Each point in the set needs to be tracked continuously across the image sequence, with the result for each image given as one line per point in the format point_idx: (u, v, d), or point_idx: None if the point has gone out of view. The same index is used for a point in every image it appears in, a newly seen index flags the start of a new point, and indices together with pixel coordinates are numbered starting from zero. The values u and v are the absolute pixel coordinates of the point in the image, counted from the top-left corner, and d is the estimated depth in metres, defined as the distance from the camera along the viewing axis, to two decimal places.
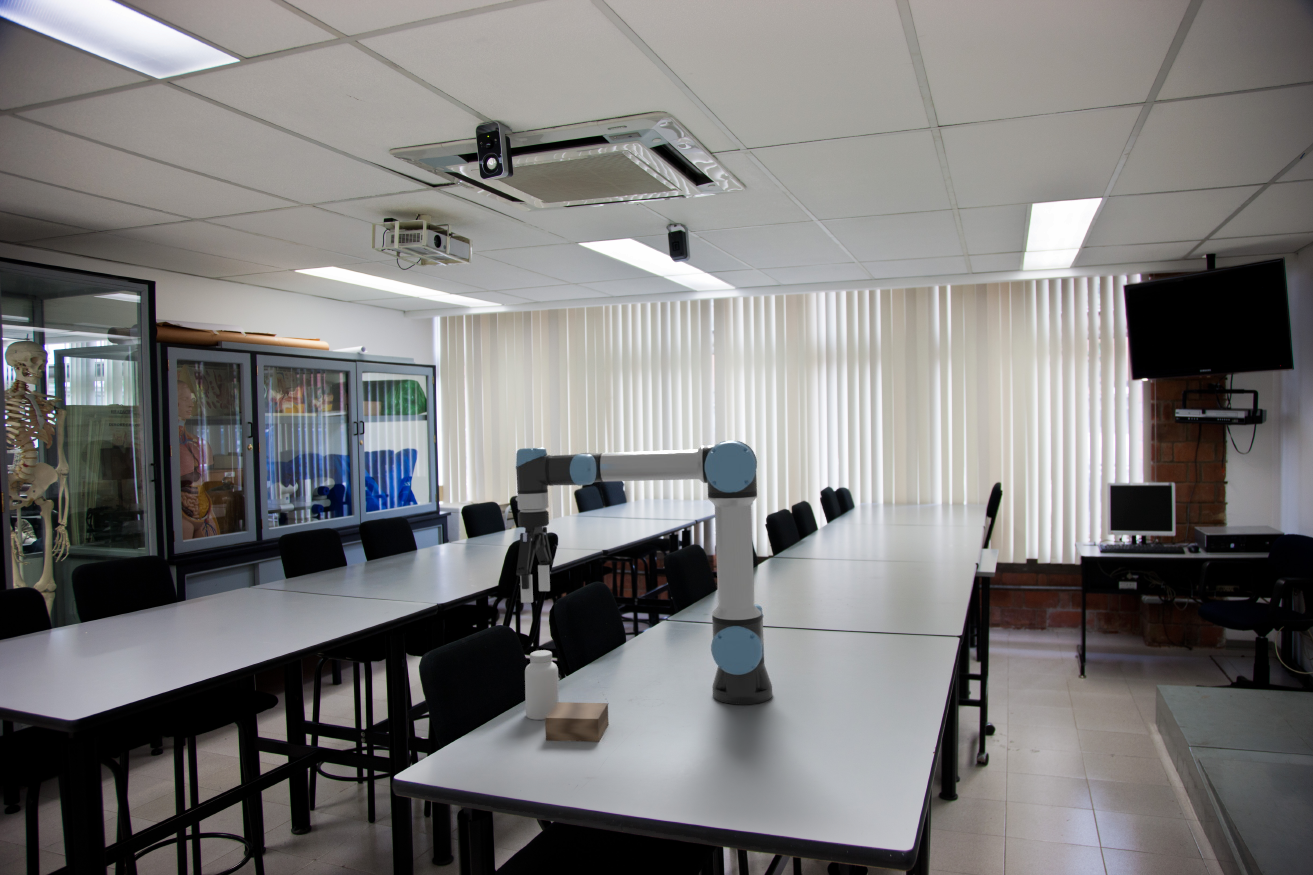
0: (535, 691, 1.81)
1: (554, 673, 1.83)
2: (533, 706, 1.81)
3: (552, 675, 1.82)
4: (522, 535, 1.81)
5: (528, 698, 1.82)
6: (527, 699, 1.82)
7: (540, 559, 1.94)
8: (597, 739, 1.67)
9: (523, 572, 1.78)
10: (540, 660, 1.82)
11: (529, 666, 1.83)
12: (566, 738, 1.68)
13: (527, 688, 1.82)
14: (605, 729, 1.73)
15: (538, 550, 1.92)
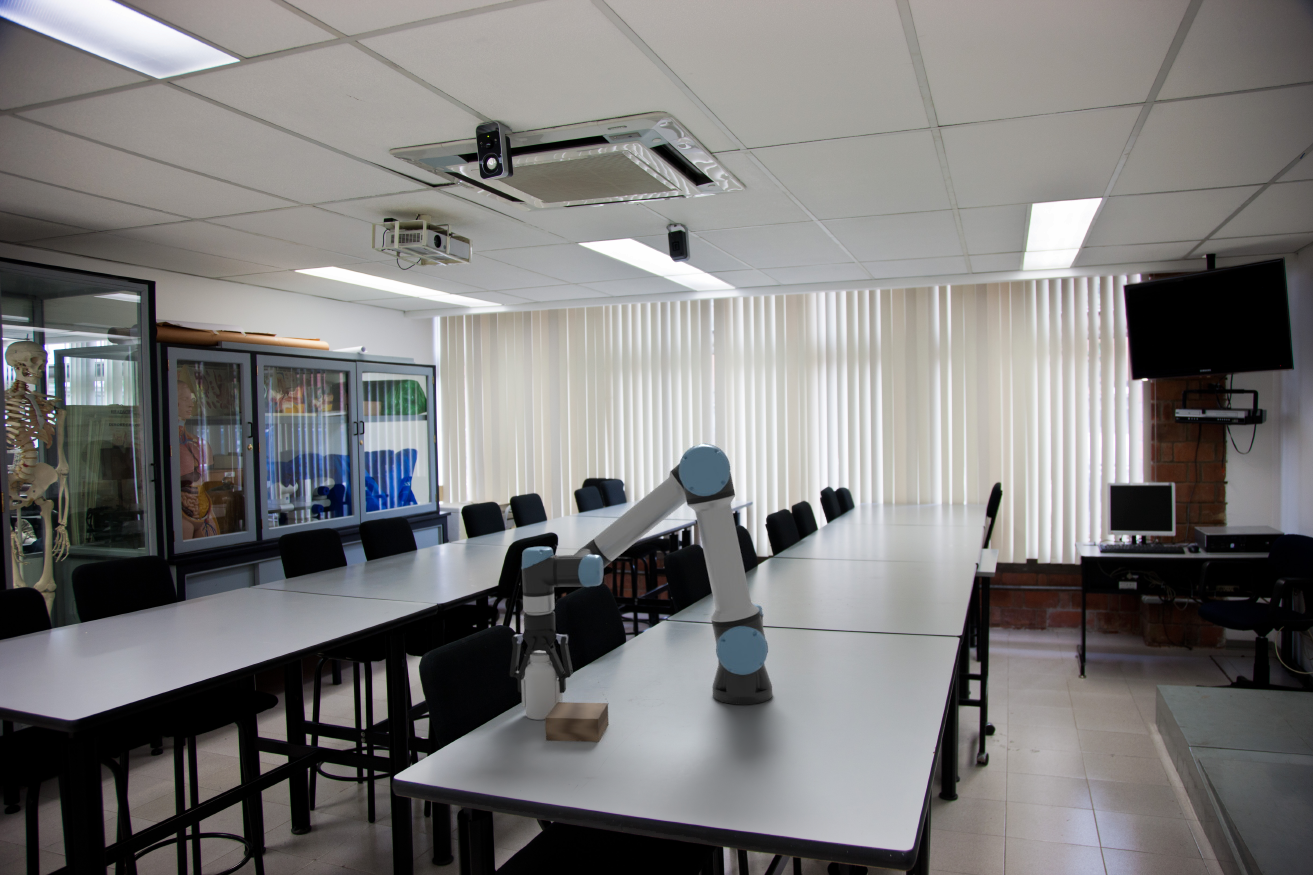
0: (535, 691, 1.81)
1: (554, 673, 1.83)
2: (533, 706, 1.81)
3: (552, 675, 1.82)
4: None
5: (528, 698, 1.82)
6: (527, 699, 1.82)
7: None
8: (597, 739, 1.67)
9: None
10: (540, 660, 1.82)
11: (529, 666, 1.83)
12: (566, 738, 1.68)
13: (527, 688, 1.82)
14: (605, 729, 1.73)
15: None
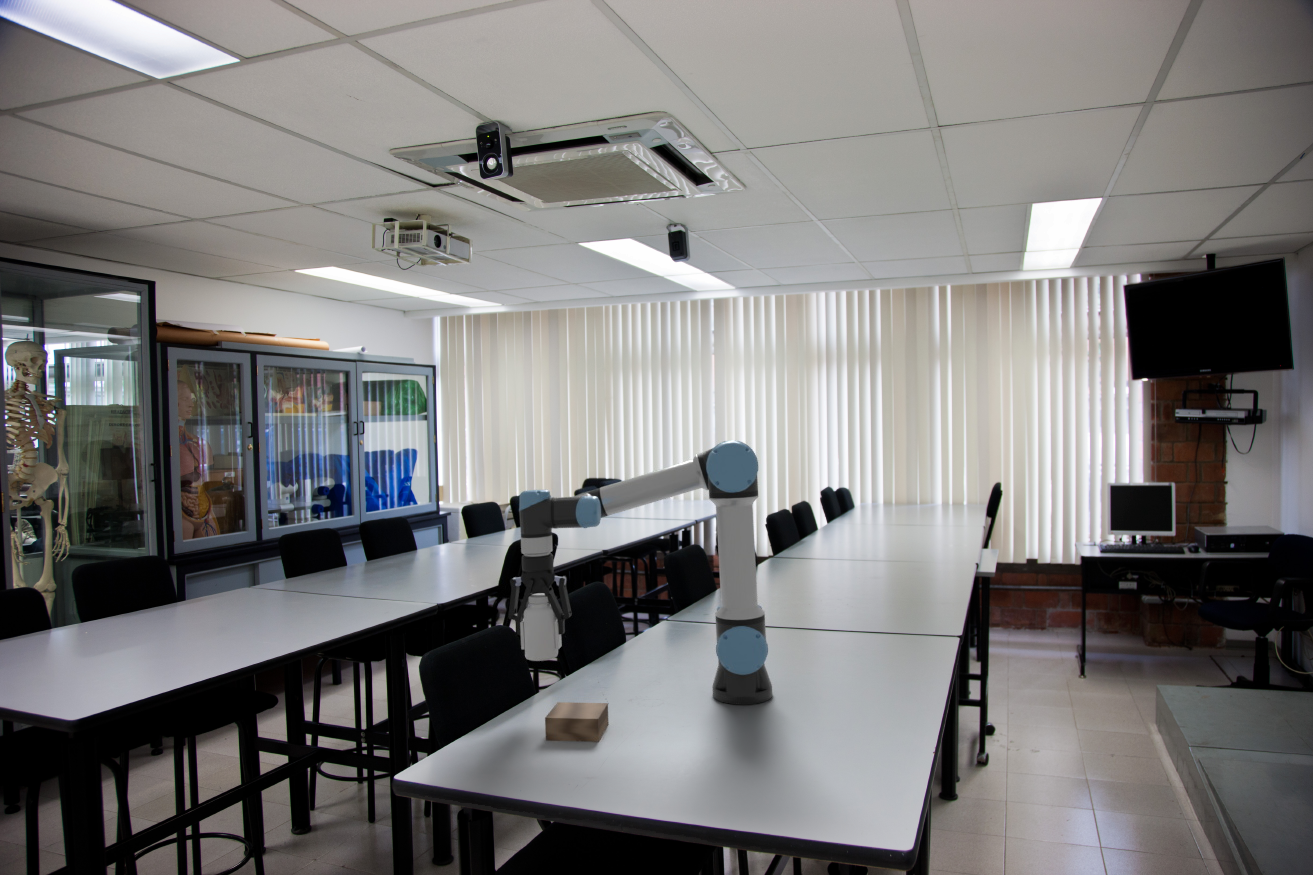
0: (534, 632, 1.81)
1: (553, 614, 1.83)
2: (532, 647, 1.81)
3: (551, 616, 1.82)
4: None
5: (527, 640, 1.82)
6: (526, 641, 1.82)
7: None
8: (597, 739, 1.67)
9: None
10: (538, 601, 1.82)
11: (528, 608, 1.83)
12: (566, 738, 1.68)
13: (526, 630, 1.82)
14: (605, 729, 1.73)
15: None
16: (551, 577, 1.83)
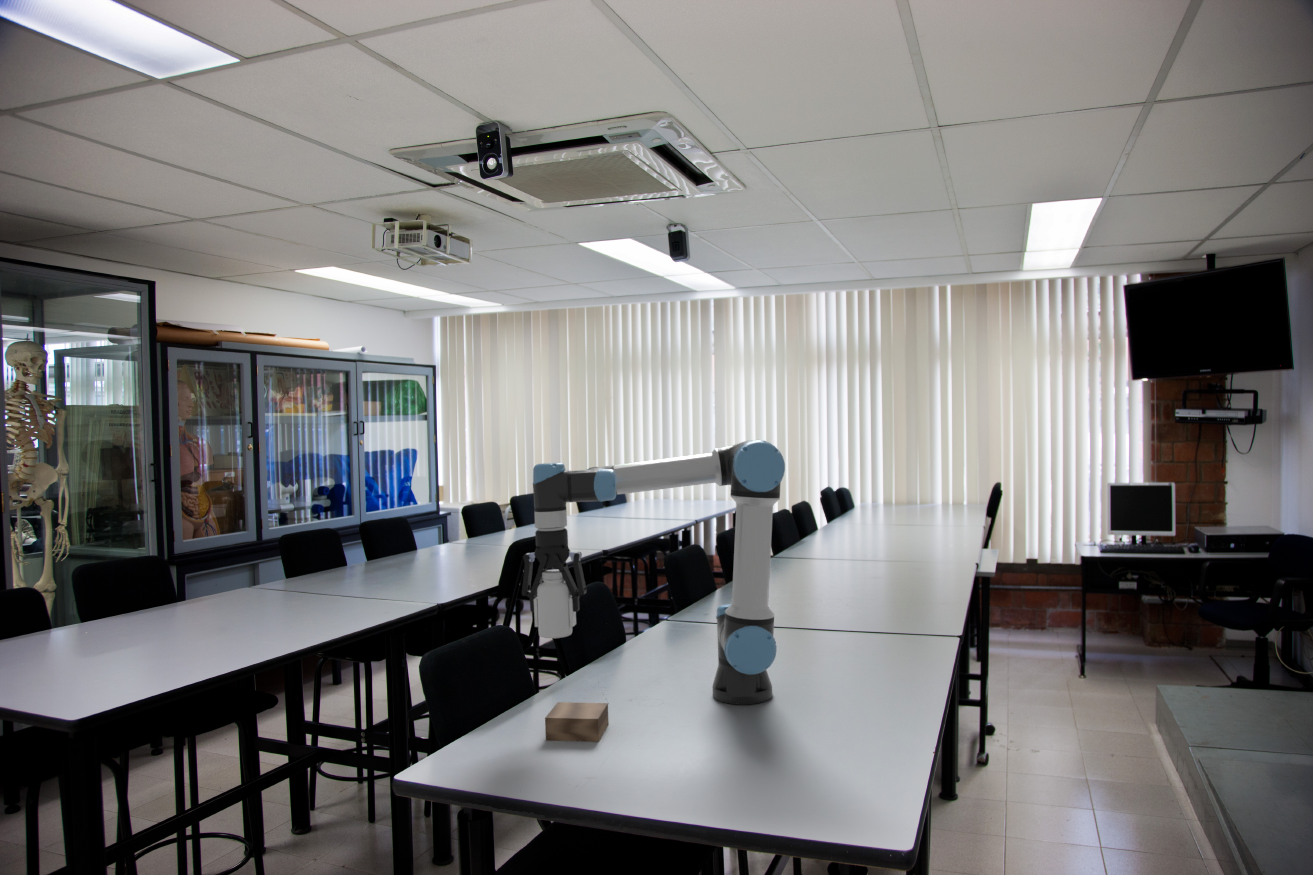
0: (548, 609, 1.75)
1: (567, 590, 1.77)
2: (546, 624, 1.76)
3: (565, 592, 1.77)
4: None
5: (540, 616, 1.77)
6: (539, 618, 1.77)
7: None
8: (597, 739, 1.67)
9: None
10: (552, 577, 1.77)
11: (541, 584, 1.78)
12: (566, 738, 1.68)
13: (539, 606, 1.77)
14: (605, 729, 1.73)
15: None
16: (565, 552, 1.78)
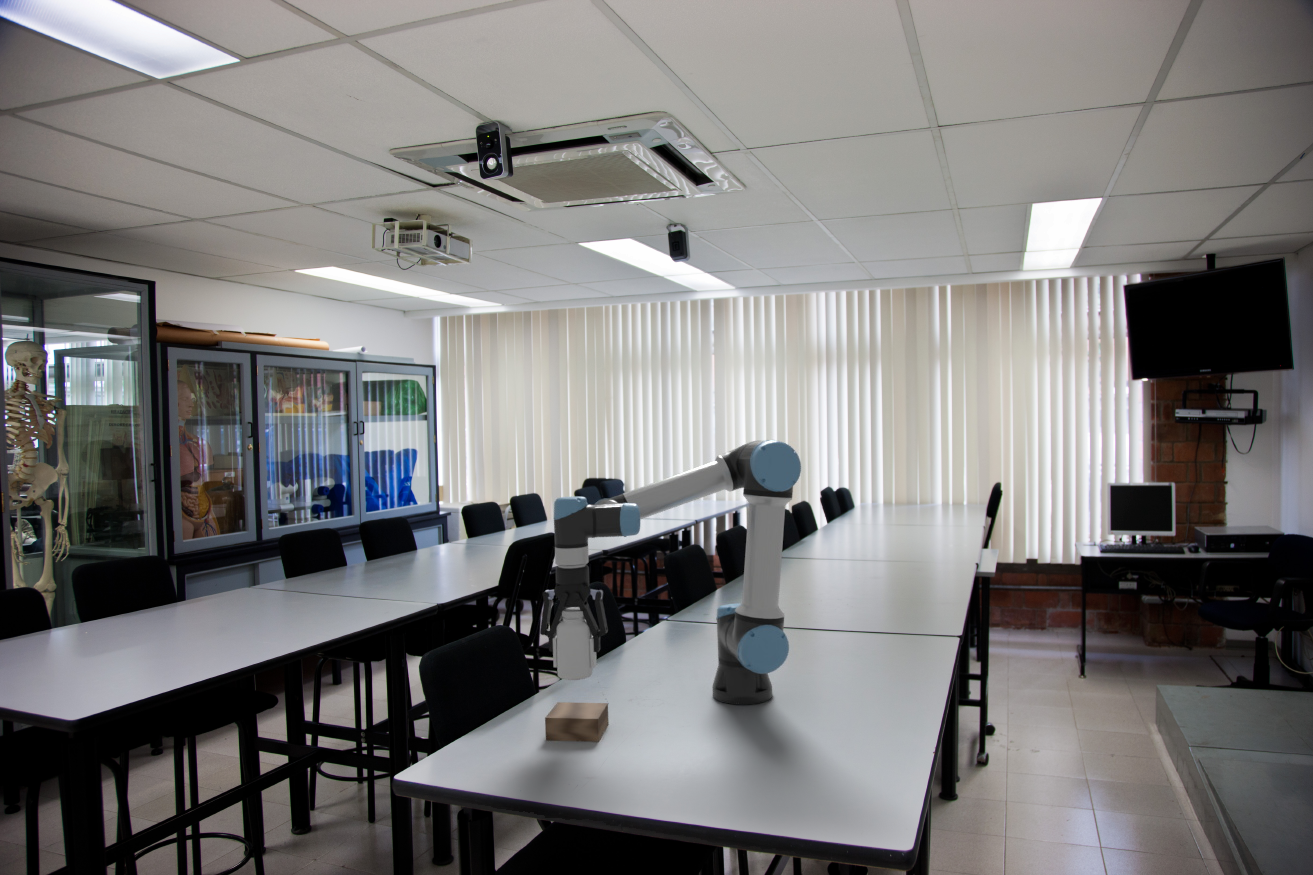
0: (568, 649, 1.69)
1: (588, 630, 1.70)
2: (566, 665, 1.69)
3: (586, 632, 1.70)
4: None
5: (560, 657, 1.70)
6: (559, 658, 1.70)
7: None
8: (597, 739, 1.67)
9: None
10: (573, 616, 1.70)
11: (561, 623, 1.71)
12: (566, 738, 1.68)
13: (559, 646, 1.70)
14: (605, 729, 1.73)
15: None
16: (587, 590, 1.71)
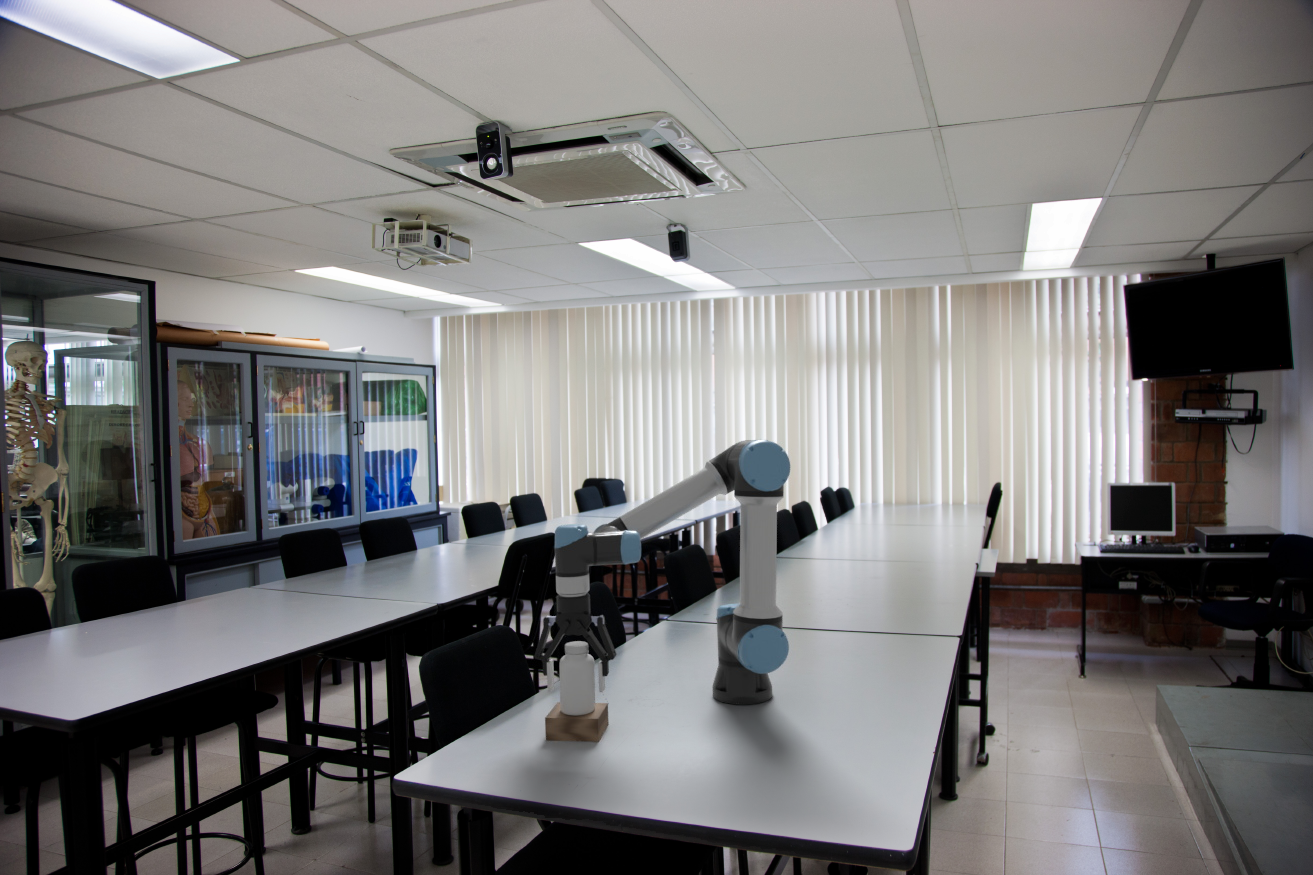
0: (571, 685, 1.69)
1: (591, 665, 1.70)
2: (569, 701, 1.69)
3: (589, 667, 1.70)
4: None
5: (563, 692, 1.70)
6: (562, 693, 1.70)
7: None
8: (597, 739, 1.67)
9: None
10: (576, 652, 1.70)
11: (564, 658, 1.71)
12: (566, 738, 1.68)
13: (562, 681, 1.70)
14: (605, 729, 1.73)
15: None
16: (588, 619, 1.71)
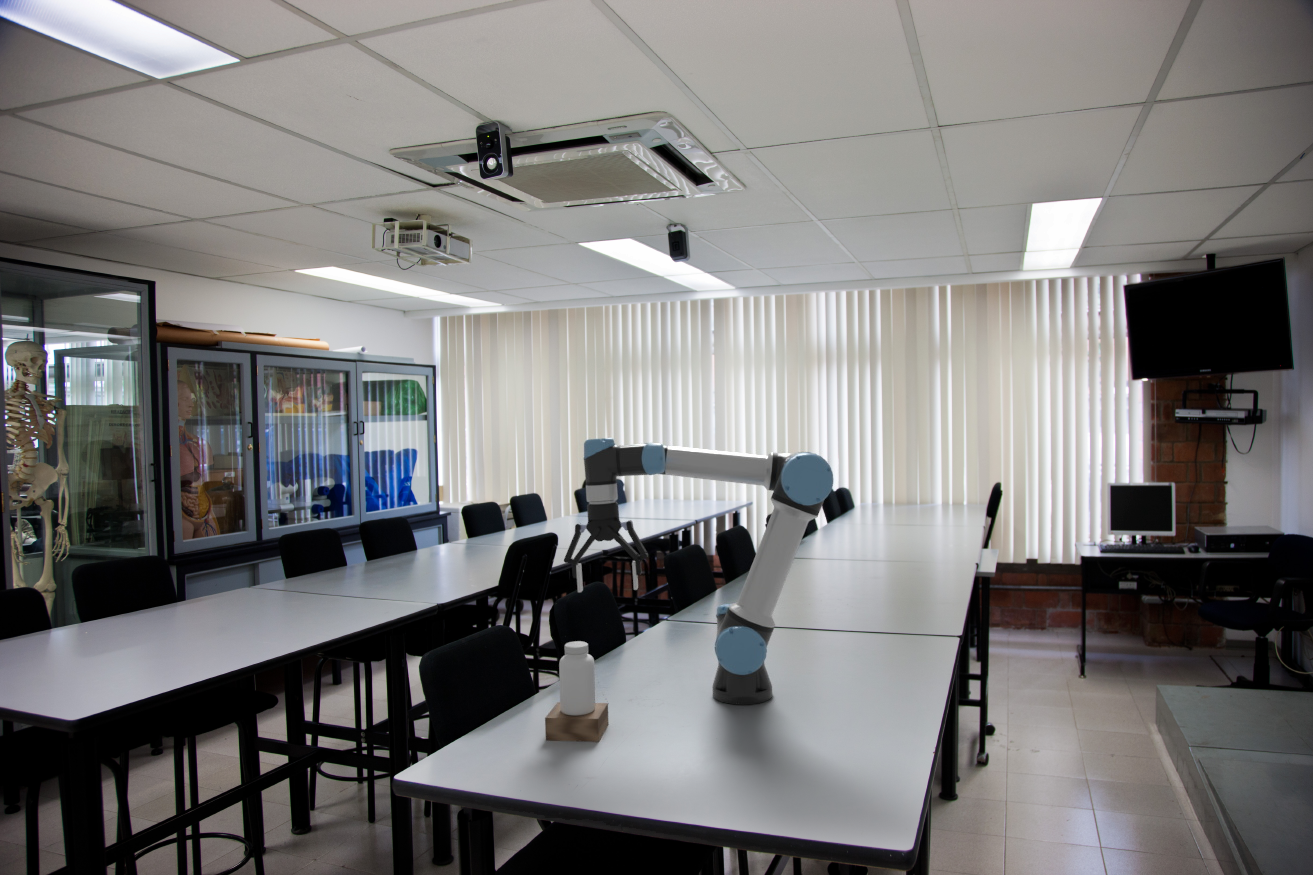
0: (571, 685, 1.69)
1: (590, 665, 1.70)
2: (569, 701, 1.69)
3: (589, 667, 1.70)
4: None
5: (563, 692, 1.70)
6: (562, 693, 1.70)
7: None
8: (597, 739, 1.67)
9: None
10: (576, 652, 1.70)
11: (564, 658, 1.71)
12: (566, 738, 1.68)
13: (562, 682, 1.70)
14: (605, 729, 1.73)
15: None
16: (618, 525, 1.82)
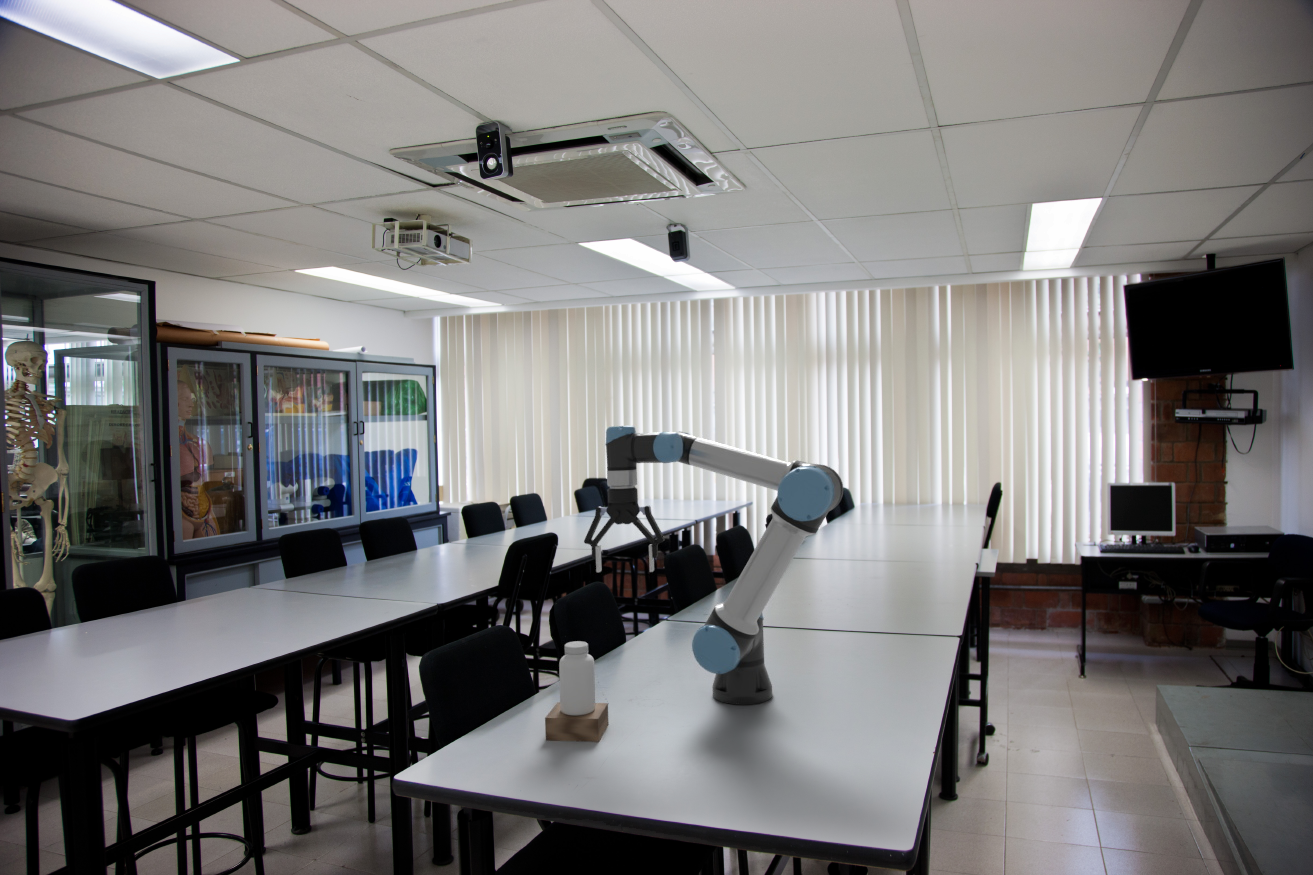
0: (571, 685, 1.69)
1: (590, 665, 1.70)
2: (569, 701, 1.69)
3: (589, 667, 1.70)
4: None
5: (563, 692, 1.70)
6: (562, 693, 1.70)
7: None
8: (597, 739, 1.67)
9: None
10: (576, 652, 1.70)
11: (564, 658, 1.71)
12: (566, 738, 1.68)
13: (562, 681, 1.70)
14: (605, 729, 1.73)
15: None
16: (636, 509, 1.91)
